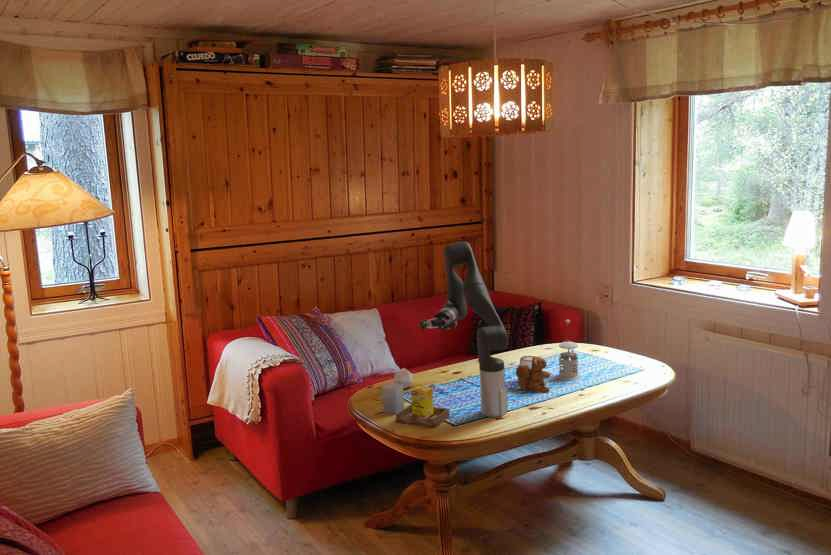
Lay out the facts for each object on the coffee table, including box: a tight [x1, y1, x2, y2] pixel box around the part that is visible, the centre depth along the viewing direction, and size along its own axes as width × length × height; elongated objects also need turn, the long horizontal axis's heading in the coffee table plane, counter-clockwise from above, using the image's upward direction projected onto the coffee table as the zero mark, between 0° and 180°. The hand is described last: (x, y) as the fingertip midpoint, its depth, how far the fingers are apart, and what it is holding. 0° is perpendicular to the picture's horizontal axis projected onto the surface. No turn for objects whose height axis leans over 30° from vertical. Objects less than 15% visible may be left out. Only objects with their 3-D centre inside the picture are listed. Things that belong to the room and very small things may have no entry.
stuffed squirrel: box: [515, 356, 551, 393], centre depth 288 cm, size 10×14×13 cm
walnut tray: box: [395, 403, 450, 429], centre depth 262 cm, size 16×12×3 cm
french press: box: [557, 319, 581, 381], centre depth 301 cm, size 10×12×25 cm
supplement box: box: [410, 385, 434, 418], centre depth 261 cm, size 6×6×11 cm
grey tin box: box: [381, 382, 405, 415], centre depth 272 cm, size 6×6×10 cm
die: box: [392, 367, 414, 390], centre depth 299 cm, size 8×9×10 cm
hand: (433, 328), depth 275 cm, fingers open, 8 cm apart
